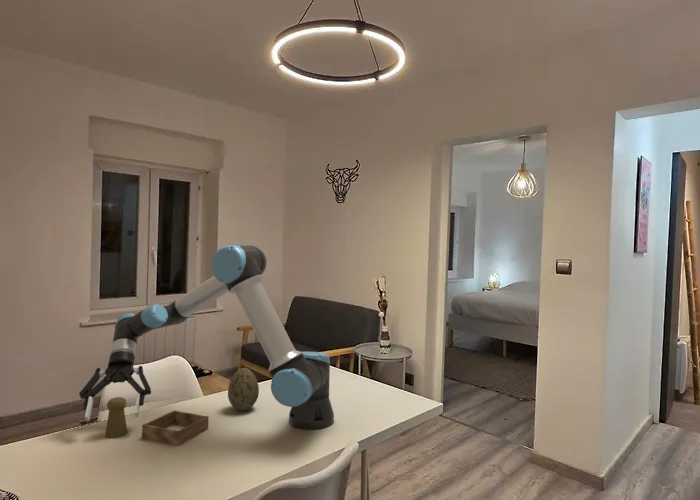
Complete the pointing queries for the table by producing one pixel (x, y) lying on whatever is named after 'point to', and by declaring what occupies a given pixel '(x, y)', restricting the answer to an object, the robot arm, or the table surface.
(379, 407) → the table surface
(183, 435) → the walnut box
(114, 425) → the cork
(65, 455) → the table surface
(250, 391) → the decorative egg
